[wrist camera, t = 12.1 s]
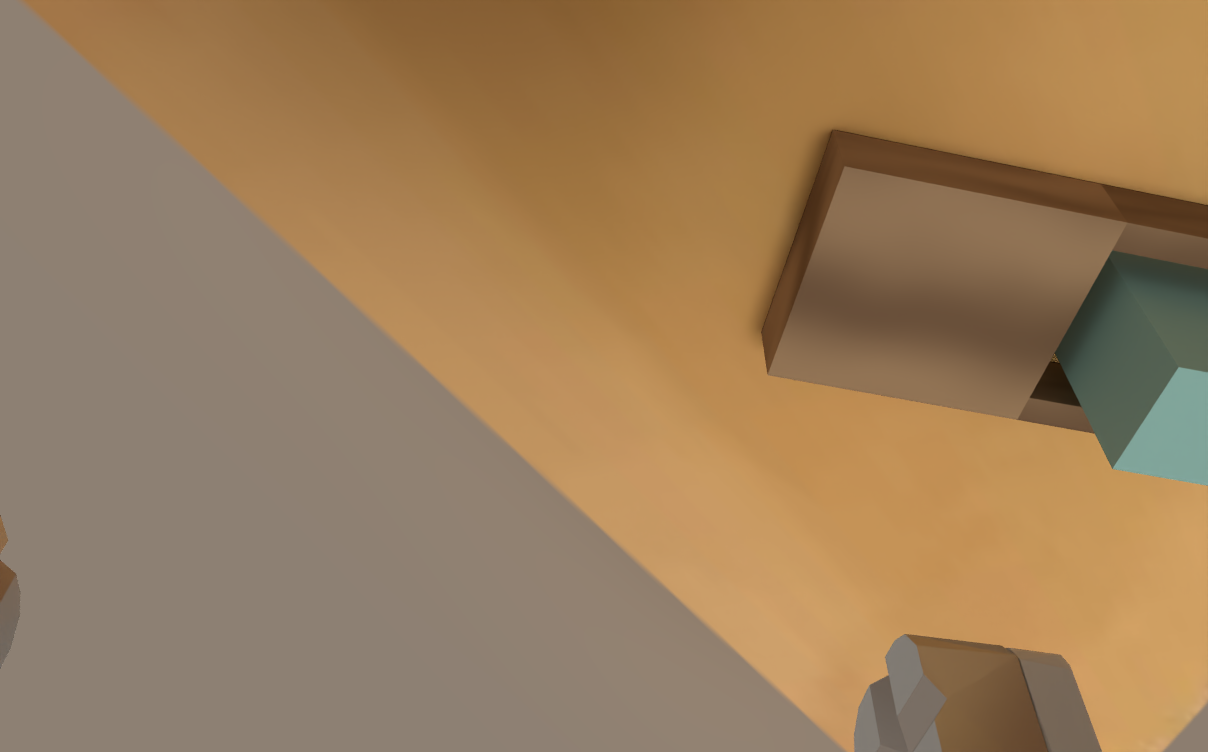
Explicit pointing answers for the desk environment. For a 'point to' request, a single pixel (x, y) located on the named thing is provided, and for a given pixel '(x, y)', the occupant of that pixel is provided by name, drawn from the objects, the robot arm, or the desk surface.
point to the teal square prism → (1144, 365)
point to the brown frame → (955, 276)
